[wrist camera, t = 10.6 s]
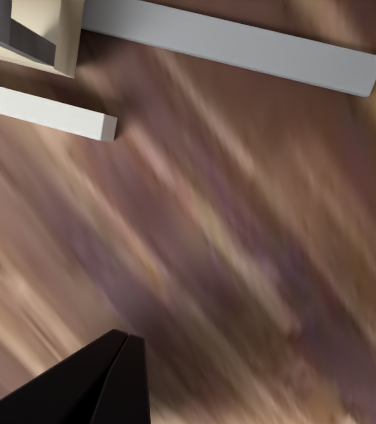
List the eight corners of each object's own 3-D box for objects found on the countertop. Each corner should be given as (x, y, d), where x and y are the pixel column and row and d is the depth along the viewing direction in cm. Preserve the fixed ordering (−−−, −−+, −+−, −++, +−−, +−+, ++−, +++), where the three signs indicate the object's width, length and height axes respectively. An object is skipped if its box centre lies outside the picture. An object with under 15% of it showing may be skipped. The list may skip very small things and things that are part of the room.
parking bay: (325, 198, 17) (347, 208, 14) (-91, 86, 19) (-148, 75, 16) (432, -72, 13) (489, -132, 11) (-94, -178, 15) (-168, -255, 12)
